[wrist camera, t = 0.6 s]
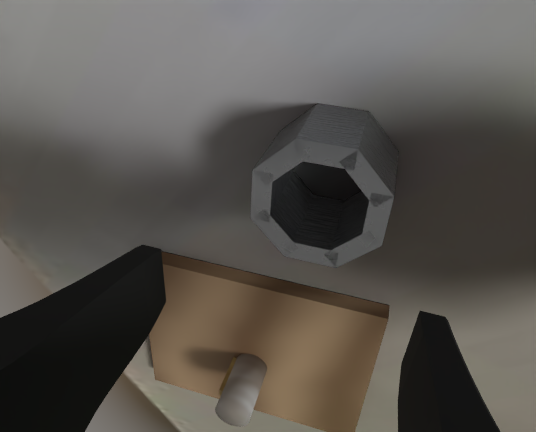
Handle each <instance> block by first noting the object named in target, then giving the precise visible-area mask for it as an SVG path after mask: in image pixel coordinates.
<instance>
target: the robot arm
mask: <svg viewBox="0 0 536 432" xmlns="http://www.w3.org/2000/svg"><path fill="white" fill-rule="evenodd" d="M165 303H166V293H165V283H164V272H163V262H162V252H161V249H158V248H154V247H150V246H146V245H141V246H139V247H137V248H135V249H133V250H131V251H130V252H128V253H126V254H124V255H123V256H121V257H119V258H117V259H116V260H114V261H112V262H110V263H109V264H107V265H105V266H103V267H102V268H100V269H98V270H96V271H95V272H93V273H91V274H89V275H87V276H86V277H84V278H82V279H80V280H79V281H77V282H75V283H73V284H71V285H69V286H67V287H65V288H63V289H61V290H59V291H57V292H55V293H53V294H51V295H50V296H48V297H46V298H44V299H42V300H40V301H38V302H36V303H33V304H31V305H29V306H27V307H25V308H23V309H20V310H18V311H16V312H13V313H11V314H8V315H6V316H4V317H2V318H0V432H85V430H86V428H87V426H88V425H89V423H90V421H91V419H92V418H93V416H94V414H95V412H96V410H97V409H98V407H99V406H100V404H101V403H102V401H103V400H104V398H105V397H106V395H107V394H108V392H109V391H110V389H111V388H112V387H113V385H114V384H115V382H116V381H117V379H118V378H119V377H120V375H121V374H122V372H123V371H124V370H125V368H126V367H127V365H128V364H129V362H130V361H131V360H132V358H133V357H134V355H135V354H136V352H137V351H138V349H139V348H140V347H141V345H142V344H143V342H144V341H145V339H146V338H147V336H148V335H149V333H150V332H151V330H152V328H153V326H154V325H155V323H156V321H157V319H158V317H159V315H160V313H161V311H162V309H163V307H164V305H165ZM398 432H500V430H499V428H498V426H497V425H496V423H495V421H494V419H493V418H492V416H491V414H490V412H489V410H488V408H487V406H486V404H485V403H484V401H483V399H482V397H481V395H480V393H479V391H478V389H477V387H476V385H475V383H474V381H473V379H472V376H471V374H470V372H469V370H468V368H467V366H466V364H465V361H464V359H463V357H462V354H461V352H460V350H459V347H458V345H457V343H456V340H455V338H454V335H453V333H452V330H451V328H450V325H449V322H448V320H447V319H446V317H444V316H440V315H435V314H431V313H427V312H423V311H420V312H419V315H418V318H417V321H416V323H415V326H414V329H413V332H412V335H411V338H410V341H409V344H408V347H407V349H406V352H405V355H404V358H403V361H402V365H401V374H400V384H399V395H398Z"/></svg>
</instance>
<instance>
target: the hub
mask: <svg viewBox="0 0 536 432" xmlns="http://www.w3.org/2000/svg"><path fill="white" fill-rule="evenodd" d="M398 152H399V151H398V150H397V149H396V147H395V146H394V145H393V143H392V142H391V141H390V139H389V138H388V136H387V135H386V134H385V132H384V131H383V130H382V128H381V127H380V126H379V124H378V123H377V122H376V120H375V119H374V117H373V116H372V115H371V113H370V112H369V111H364V110H358V109H351V108H344V107H338V106H331V105H325V104H318V103H317V104H316V105H315V106H313V107H312V108H311V109H309V110H308V111H307V112H305V113H304V114H303V115H301V116H300V117H299V118H297V119H296V120H295V121H293V122H292V123H291V124H289V125H288V126H287V127H285V128H284V129H283V130H281V131H280V132H279V133H278V135H277V136H276V138H275V139H274V140H273V142H272V143H271V145H270V146H269V147H268V149H267V150H266V152H265V153H264V154H263V156H262V157H261V159H260V160H259V162H258V163H257V164H256V166H255V167H254V169H253V170H252V190H251V213H250V218H251V220H252V221H253V222H254V223H255V224H256V225H257V226H258V227H259V229H260V230H261V231H262V232H263V233H264V234H265V235H266V236H267V238H268V239H269V240H270V241H271V242H272V243H273V244H274V245H275V247H276V248H277V249H278V250H279V251H280V252H281V253H282V255H283V256H285V257H289V258H294V259H298V260H303V261H307V262H311V263H316V264H320V265H325V266H329V267H334V268H337V267H339V266H341V265H343V264H345V263H347V262H350V261H352V260H354V259H356V258H358V257H360V256H362V255H364V254H366V253H368V252H370V251H372V250H375V249H377V248H379V247H381V246H382V243H383V239H384V235H385V232H386V228H387V224H388V220H389V216H390V212H391V208H392V204H393V200H394V195H395V184H396V173H397V163H398ZM303 161H304V162H309V163H315V164H320V165H326V166H331V167H337V168H343V169H345V170H346V171H347V173H348V174H349V175H350V176H351V178H352V179H353V180H354V181H355V183H356V184H357V185H358V187H359V188H360V189H361V190H362V191H361V192H359V193H357V194H356V195H354V196H352V197H350V198H349V199H347V200H345V201H342V200H337V199H332V198H327V197H322V196H316V195H313V194H312V193H311V192H310V190H309V189H308V188H307V187H306V186H305V184H304V183H303V182H302V181H301V180H300V178H299V177H298V176H297V175H296V173H295V172H294V167H295V166H297V165H298V164H300V163H301V162H303Z"/></svg>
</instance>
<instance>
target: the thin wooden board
mask: <svg viewBox="0 0 536 432" xmlns="http://www.w3.org/2000/svg"><path fill="white" fill-rule="evenodd" d="M161 252H162V251H161ZM162 262H163V272H164V283H165V293H166V303H165V305H164V307H163V309H162V311H161V313H160V315H159V317H158V319H157V321H156V323H155V325H154V326H153V328H152V330H151V332H150V333H149V337H150V344H151V352H152V359H153V367H154V374H155V380H158V381H162V382H165V383H168V384H172V385H175V386H178V387H181V388H185V389H188V390H191V391H195V392H198V393H201V394H205V395H208V396H211V397H214V398H218V399H219V401H218V403H217V406H216V408H215V411H216V414H217V415H218V417H219V418H220V419H221V420H223V421H224V422H226V423H228V424H230V425H233V426H239V427H241V426H245V425H247V424H248V423H249V420H250V418H251V415H252V412H253V409H254V410H257V411H260V412H264V413H267V414H270V415H274V416H277V417H280V418H284V419H287V420H290V421H293V422H297V423H300V424H303V425H307V426H310V427H313V428H316V429H320V430H323V431H326V432H355V429H356V426H357V423H358V419H359V416H360V412H361V409H362V406H363V402H364V399H365V396H366V392H367V389H368V386H369V382H370V379H371V375H372V372H373V369H374V365H375V362H376V359H377V355H378V352H379V349H380V345H381V342H382V339H383V335H384V332H385V328H386V325H387V322H388V316H389V305H384V304H380V303H376V302H372V301H368V300H363V299H359V298H355V297H351V296H347V295H342V294H338V293H334V292H330V291H326V290H321V289H317V288H313V287H309V286H305V285H300V284H296V283H292V282H288V281H284V280H279V279H275V278H271V277H267V276H263V275H258V274H254V273H250V272H246V271H242V270H237V269H233V268H229V267H225V266H221V265H216V264H212V263H208V262H204V261H200V260H195V259H191V258H187V257H183V256H179V255H174V254H170V253H166V252H162Z"/></svg>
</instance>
